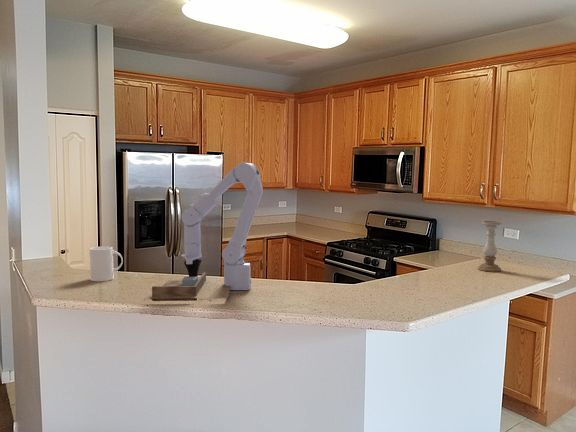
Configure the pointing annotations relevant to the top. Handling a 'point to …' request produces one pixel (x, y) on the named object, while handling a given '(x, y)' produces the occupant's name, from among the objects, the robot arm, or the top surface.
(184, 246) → the robot arm
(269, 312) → the top surface
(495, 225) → the candle holder
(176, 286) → the board
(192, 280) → the block
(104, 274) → the mug
